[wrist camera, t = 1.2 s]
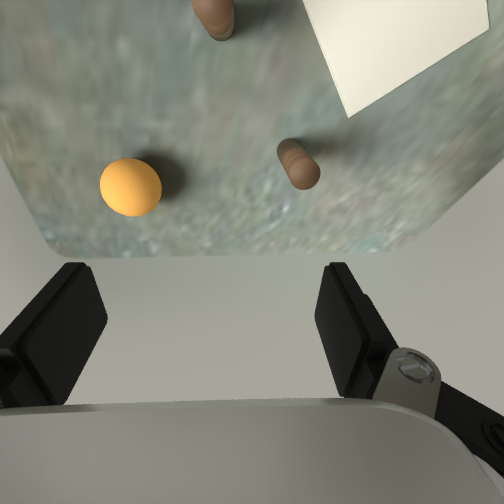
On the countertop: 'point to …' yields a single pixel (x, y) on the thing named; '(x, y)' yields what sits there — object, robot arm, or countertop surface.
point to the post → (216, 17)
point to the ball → (131, 187)
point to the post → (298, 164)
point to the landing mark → (389, 40)
